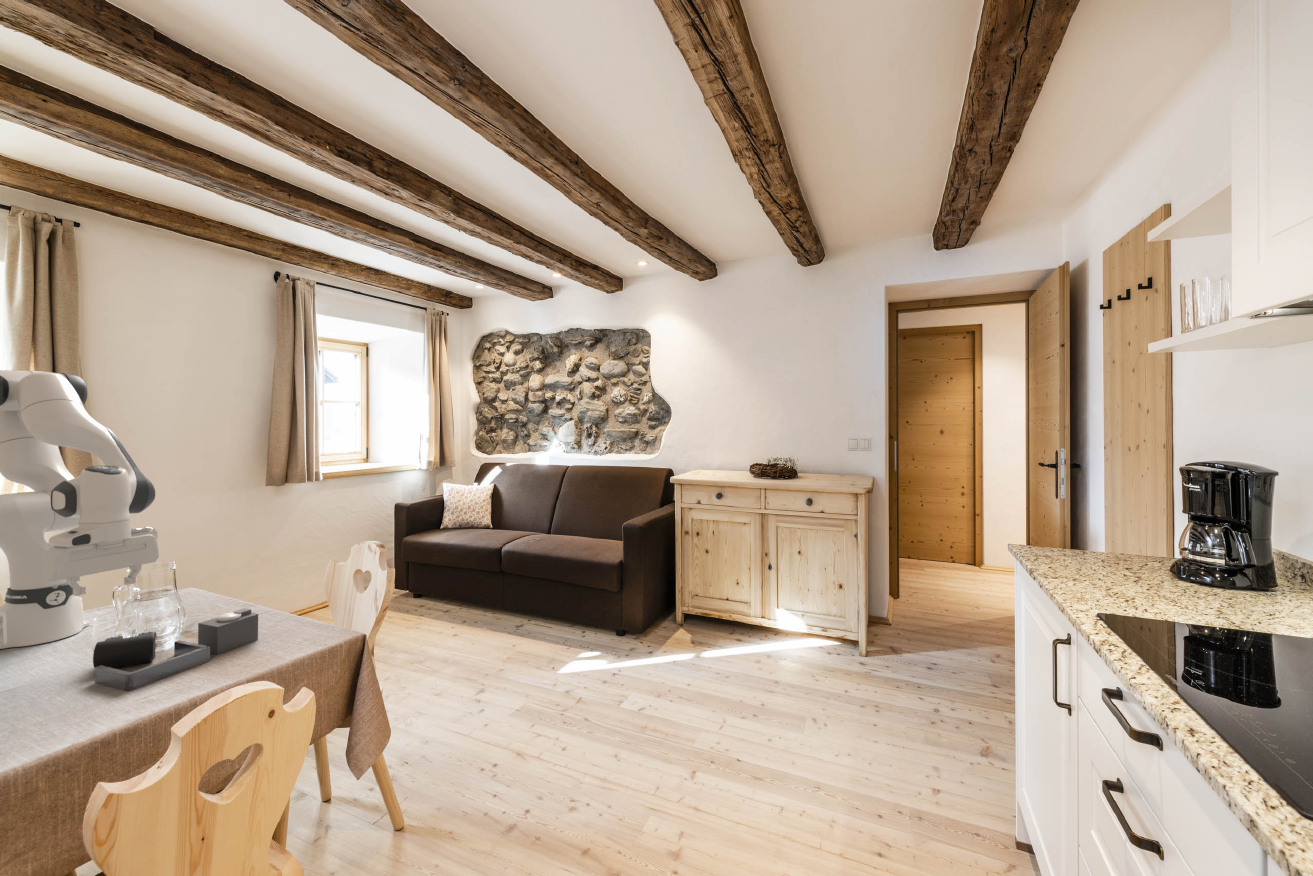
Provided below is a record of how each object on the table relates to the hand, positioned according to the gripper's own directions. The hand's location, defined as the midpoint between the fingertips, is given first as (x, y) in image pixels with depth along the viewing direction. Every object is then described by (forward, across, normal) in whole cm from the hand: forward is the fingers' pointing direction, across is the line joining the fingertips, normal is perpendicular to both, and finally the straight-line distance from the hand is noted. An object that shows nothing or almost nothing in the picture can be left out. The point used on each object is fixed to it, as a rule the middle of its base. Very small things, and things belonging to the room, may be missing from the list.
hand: (105, 589), depth 127 cm
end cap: (+18, 0, +8) cm, 19 cm away
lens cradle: (+18, 0, +18) cm, 25 cm away
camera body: (+18, -16, +18) cm, 30 cm away
